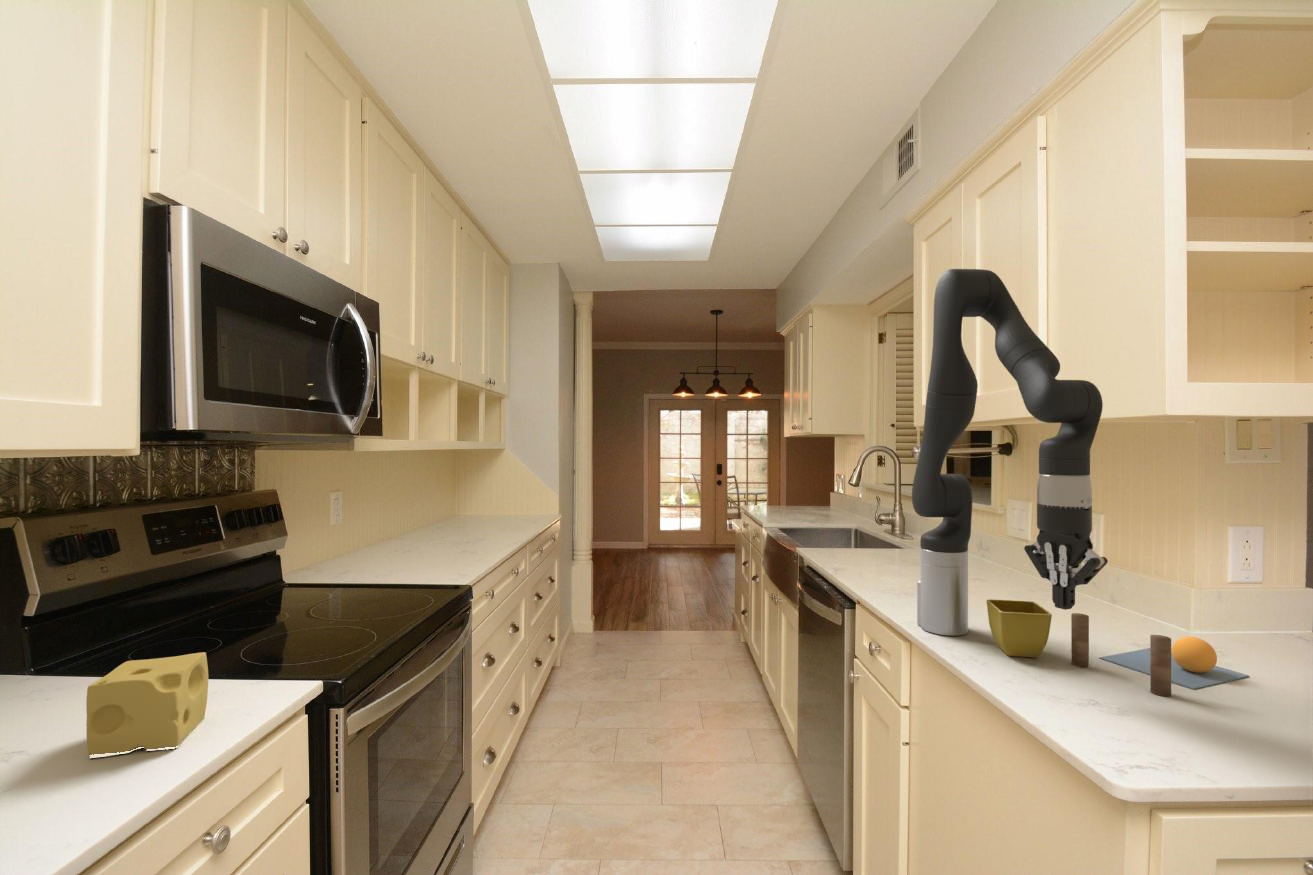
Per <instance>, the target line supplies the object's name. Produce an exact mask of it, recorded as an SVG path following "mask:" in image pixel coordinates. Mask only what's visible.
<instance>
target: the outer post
mask: <svg viewBox="0 0 1313 875" xmlns="http://www.w3.org/2000/svg"><path fill="white" fill-rule="evenodd" d="M1149 638H1150V639H1149V642H1150V644H1149V645H1150V646H1149V648H1150V675H1149V676H1150V693H1151V694H1154V695H1156V696H1160V697H1165V698H1168V697H1171V696H1172V682H1171V653H1172V637H1168V636H1166V635H1160V634H1151V635H1150V636H1149Z"/></svg>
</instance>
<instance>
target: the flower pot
mask: <svg viewBox="0 0 1313 875" xmlns="http://www.w3.org/2000/svg"><path fill="white" fill-rule="evenodd" d="M986 606H987V617H988V625H989V628H990V632H991V634H992V637H993V638H994V640H995V642H996V644H997V647H999V649H1000V650H1002V651H1003V652H1004V654H1005V655H1007V656H1008V657H1020V658H1031V659H1032V658H1037V657H1038V656H1039V655H1041V653H1042V652H1043V651H1044V650H1045V648H1046V645H1047V643H1048V640H1049V637H1050V629H1051V624H1052V617H1053V614H1052V613H1051V612H1049V611H1048V610H1047V609H1045V608H1044V607H1043V606H1041V605H1040V604H1038V603H1036V602H1035V601H1029V600H1009V599H1006V600H1005V599H992V598H991V599H986Z"/></svg>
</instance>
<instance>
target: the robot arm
mask: <svg viewBox="0 0 1313 875" xmlns="http://www.w3.org/2000/svg"><path fill="white" fill-rule="evenodd" d="M977 317H978V318H981V319H983V320H985V321H986V322H988V324H990V326H992V327H993V329H994V331H995V334H994V336H995V337H994V349H995V353H996V356H997V358H998V360H999V362H1001V364H1002V365H1003V367H1004V368H1005V370H1007V372H1008V373H1009V374H1010V375H1011V376H1012V378H1013V379H1014V381H1016V383H1017V386H1018V390H1019V392H1020V395H1021V398H1022V402H1023V404H1024V406H1025V408H1026V410H1027V412H1028V413H1029V414H1030V415H1031V416H1032V417H1033V418H1034V419H1036V420H1038V421H1040V422H1042V423H1047V424H1060V426H1059V430H1058V432H1057V434H1056V435H1055V436H1053V437H1050V438H1046V439H1044V440H1042V441H1041V442H1040V444H1039V447H1038V479H1037V484H1036V526H1037V529H1038V530H1039V531H1038V534H1037V537H1036V541H1035V542H1033V543H1032V544H1028V545H1027V544H1026V545H1025V546H1024V548H1023V550H1024V551H1025V553H1026V555H1027V557H1028V558H1029V559H1030V561H1031V563H1032V565H1033V566H1034V568H1035V570H1036V571H1037V572H1038V574H1039V575H1040V577H1041V578H1042V579H1046V580H1048V581H1049V582H1050V583H1051V587H1052V589H1051V591H1052V593H1051V595H1052V598H1051V599H1052V602H1053V604H1054V607H1055V608H1057V609H1062V610H1071V609H1072V608H1073V607H1074V606H1075V605H1076V587H1077V586H1080V585H1088V584H1089V583H1090V582H1091V581H1092V579H1094V578H1095V577H1096V575H1098V574H1099V573H1100V571H1101V570H1103V568H1104V567H1105V566H1106V565H1107V564H1108V563H1109V562H1108V561H1109V560H1108V558H1107V557H1105V556H1100V555H1099V554H1098V553H1097V552H1096V551H1095V550H1093V547H1094V546H1093V543H1092V541H1091V537H1090V536H1091V533H1092V530H1093V488H1092V481H1091V448H1092V445H1093V442H1094V439H1095V436H1096V432H1097V430H1098V426H1099V423H1100V421H1101V417H1102V412H1103V406H1104V405H1103V404H1104V403H1103V396H1102V394H1101V391H1100V390H1099V388H1098V387H1097V385H1095V384H1094V383H1092V382H1091V381H1088V380H1083V379H1057V378H1056V377H1057V376H1058V374H1059V373H1060V371H1061V363H1060V361H1059V359H1058V358H1057V356H1056V355H1055V354H1054V352H1052V350H1050V348H1049V347H1048V346H1047V345H1046V344H1045V342H1043V341H1042V340H1041V338H1040V337H1039V336H1038V335H1037V334H1036V333H1035V332H1034V331H1033V329H1032V328H1031V327H1030V324H1028V323H1027V321H1026V320H1025V318H1024V316H1023V314H1022V313H1021V311H1020V309H1019V307H1018V305H1017V304H1016V302H1015V300H1014V298H1012V295H1011V294H1010V292H1009V290H1008V288H1007V287H1006V285H1005V283H1004V282H1003V280H1002V279H1001V278H1000V277H999V275H998V274H997V273H995V272H993V271H992V270H989V269H981V268H980V269H979V268H978V269H977V268H951V269H947V270H946V271H944V272H943V273H942V274H941V275H940V277H939V279H938V281H937V283H936V286H935V291H934V298H933V328H932V329H933V331H932V334H933V336H932V350H931V351H932V352H931V362H930V371H929V377H928V383H927V390H926V391H927V392H926V399H925V408H924V409H925V410H924V411H925V412H924V421H923V423H924V424H923V430H922V437H921V444H920V449H919V454H918V458H917V463H916V468H915V473H914V477H913V483H912V489H911V503H912V507H913V510H914V512H915V513H916V515H917V516H919V517H922V518H942V521H941V522H940V523H939V525H938V526H936V527H934V528H933V529H931V530H929V531H927V532H923V533H922V534H921V537H920V540H919V541H920V542H919V543H920V545H919V546H920V580H918V581H917V583H916V588H917V589H916V590H917V591H916V593H917V594H916V596H917V598H916V599H917V600H916V604H917V605H916V608H917V609H916V610H917V611H916V612H917V613H916V615H917V616H916V620H917V622H916V624H917V625H918V626H920V629H922V630H923V631H926V632H929V633H933V634H936V635H942V636H951V637H952V636H958V637H959V636H965V635H966V634H968V633H969V542H970V539H971V533H972V516H973V513H972V512H973V492H972V487H971V483H970V481H969V480H968V478H967V477H966V476H965V475H963V474H960V473H941V472H942V469H943V464H944V461H945V458H946V456H947V454H948V452H949V450H951V448H952V447H953V445H954V444H955V443H956V442H957V440H958V439H959V438H960V436H962V435H963V433H964V432H965V430H966V429H967V428H968V426H969V425H970V423H971V421H972V420H973V417H974V414H975V410H976V409H975V408H976V404H977V403H976V402H977V394H978V386H979V385H978V379H977V376H976V373H975V371H974V369H973V366H972V364H971V362H970V360H969V358H968V357H967V354H966V351H965V350H964V345H963V342H962V331H963V330H962V325H963V318H977ZM1082 563H1084V565H1082Z"/></svg>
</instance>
